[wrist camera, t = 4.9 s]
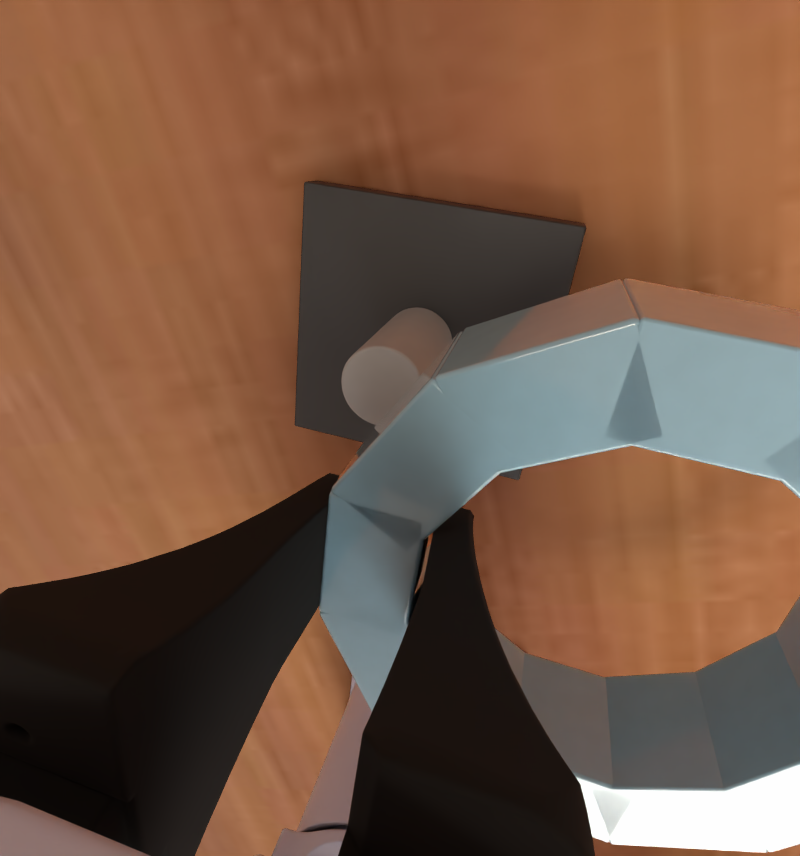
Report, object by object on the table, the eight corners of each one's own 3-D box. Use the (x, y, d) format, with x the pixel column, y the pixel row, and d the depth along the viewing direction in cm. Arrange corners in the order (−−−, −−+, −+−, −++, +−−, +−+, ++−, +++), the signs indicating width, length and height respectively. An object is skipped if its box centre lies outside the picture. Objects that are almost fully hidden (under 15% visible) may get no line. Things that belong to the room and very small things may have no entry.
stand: (521, 467, 21) (508, 557, 17) (304, 415, 23) (236, 483, 18) (585, 223, 17) (593, 248, 12) (315, 180, 19) (230, 188, 14)
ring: (772, 785, 15) (815, 919, 12) (346, 646, 17) (306, 736, 14) (1097, 365, 9) (1308, 448, 7) (399, 235, 11) (348, 259, 9)
